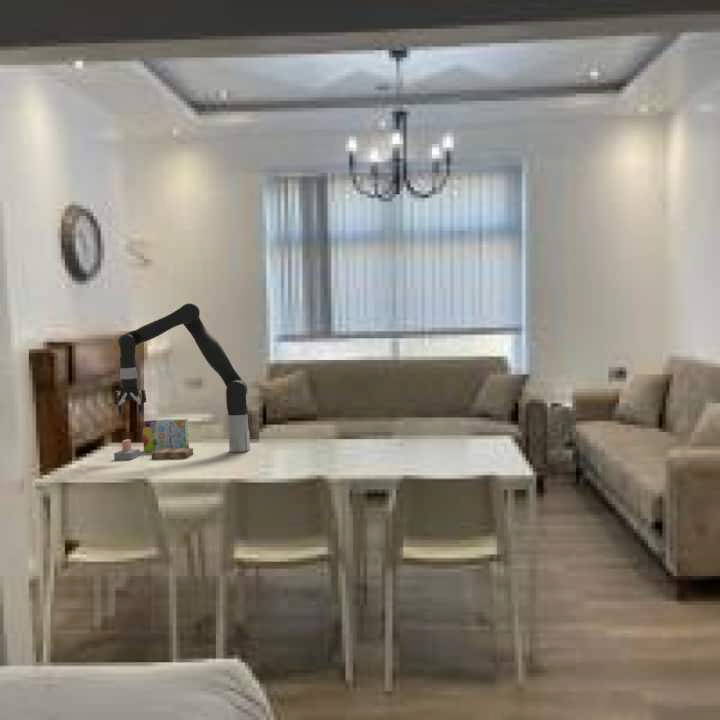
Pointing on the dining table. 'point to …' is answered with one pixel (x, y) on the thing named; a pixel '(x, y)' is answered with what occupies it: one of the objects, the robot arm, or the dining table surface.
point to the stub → (126, 451)
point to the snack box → (165, 434)
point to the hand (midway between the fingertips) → (131, 412)
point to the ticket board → (172, 453)
